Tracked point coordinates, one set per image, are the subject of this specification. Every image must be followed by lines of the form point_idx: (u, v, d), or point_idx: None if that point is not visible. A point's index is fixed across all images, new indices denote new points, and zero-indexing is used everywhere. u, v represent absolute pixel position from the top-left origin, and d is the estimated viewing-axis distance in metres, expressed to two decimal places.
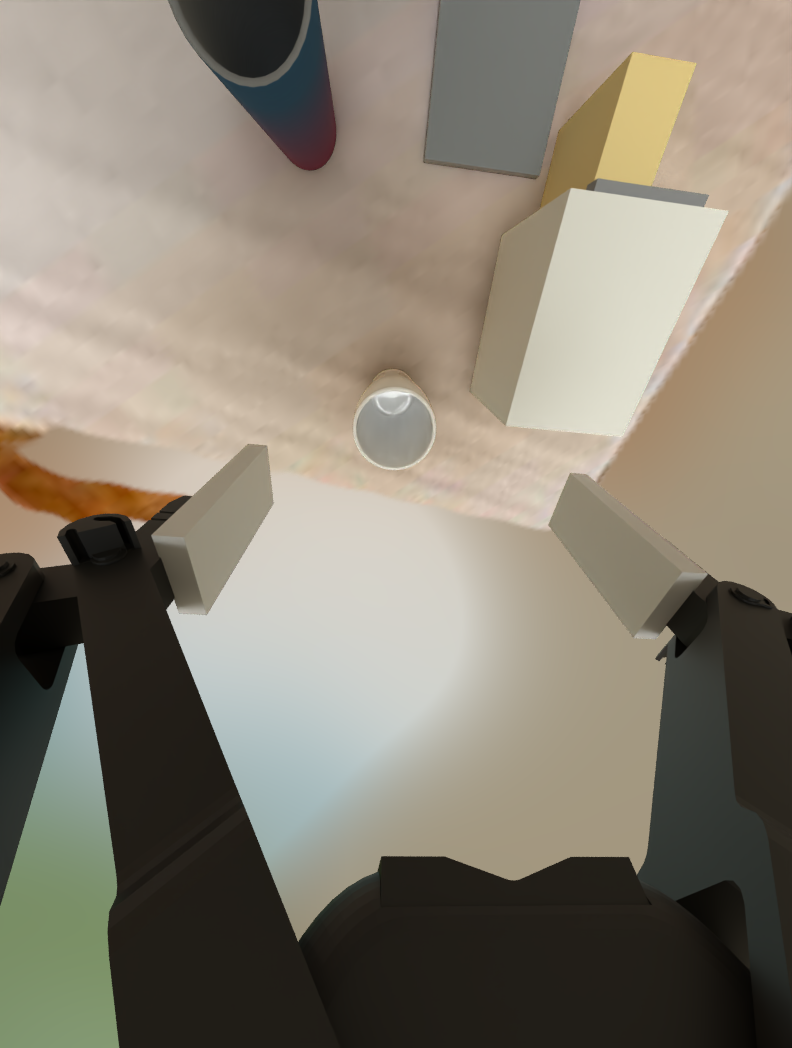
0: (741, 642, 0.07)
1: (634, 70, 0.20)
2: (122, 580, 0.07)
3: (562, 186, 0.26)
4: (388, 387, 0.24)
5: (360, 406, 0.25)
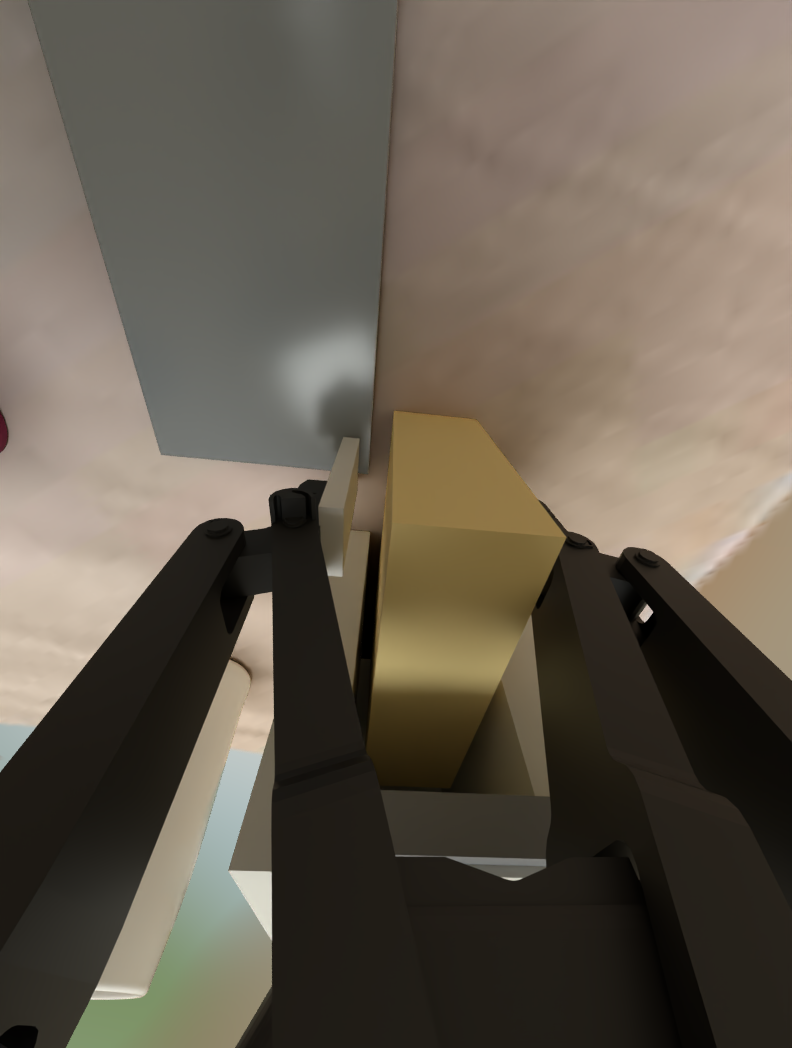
0: (580, 587, 0.08)
1: (408, 547, 0.08)
2: (301, 543, 0.08)
3: (383, 539, 0.14)
4: None
5: None
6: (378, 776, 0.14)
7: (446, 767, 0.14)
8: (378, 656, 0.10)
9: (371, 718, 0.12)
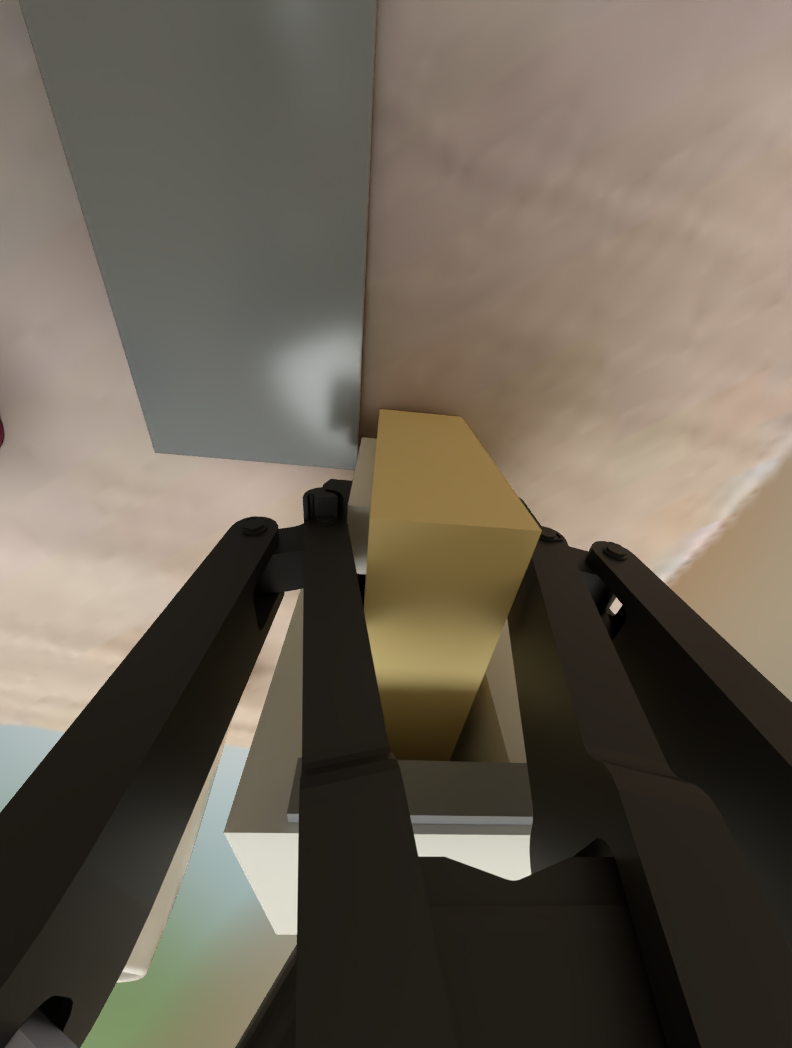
0: (552, 581, 0.08)
1: (386, 542, 0.08)
2: (331, 540, 0.09)
3: None
4: None
5: None
6: None
7: None
8: None
9: None
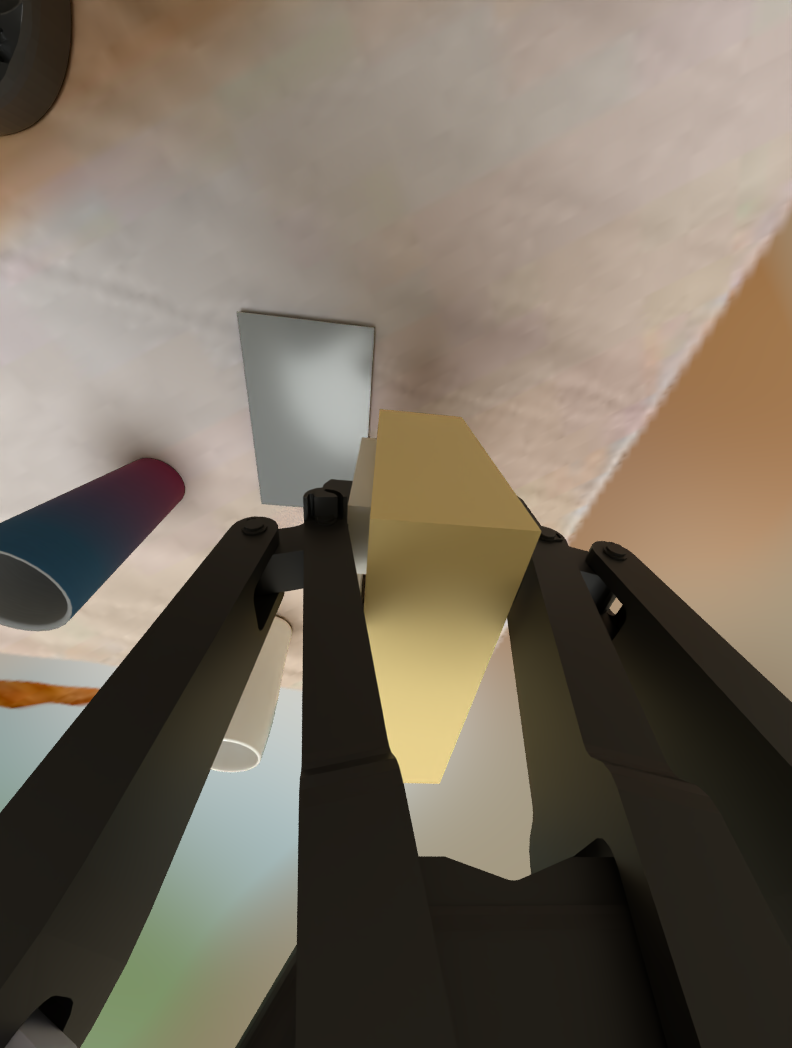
0: (552, 581, 0.08)
1: (386, 543, 0.08)
2: (331, 541, 0.09)
3: None
4: None
5: None
6: None
7: (434, 762, 0.14)
8: None
9: None
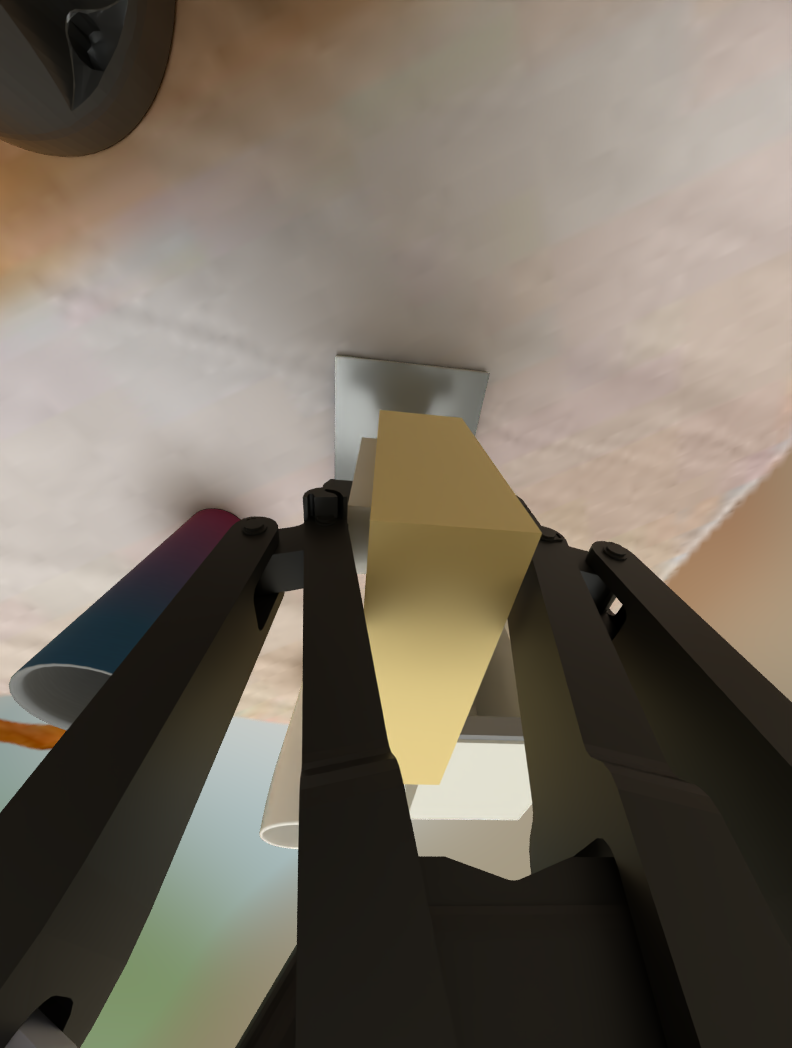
0: (552, 581, 0.08)
1: (386, 544, 0.08)
2: (331, 540, 0.09)
3: None
4: (288, 821, 0.26)
5: (264, 829, 0.27)
6: None
7: (434, 764, 0.14)
8: None
9: None
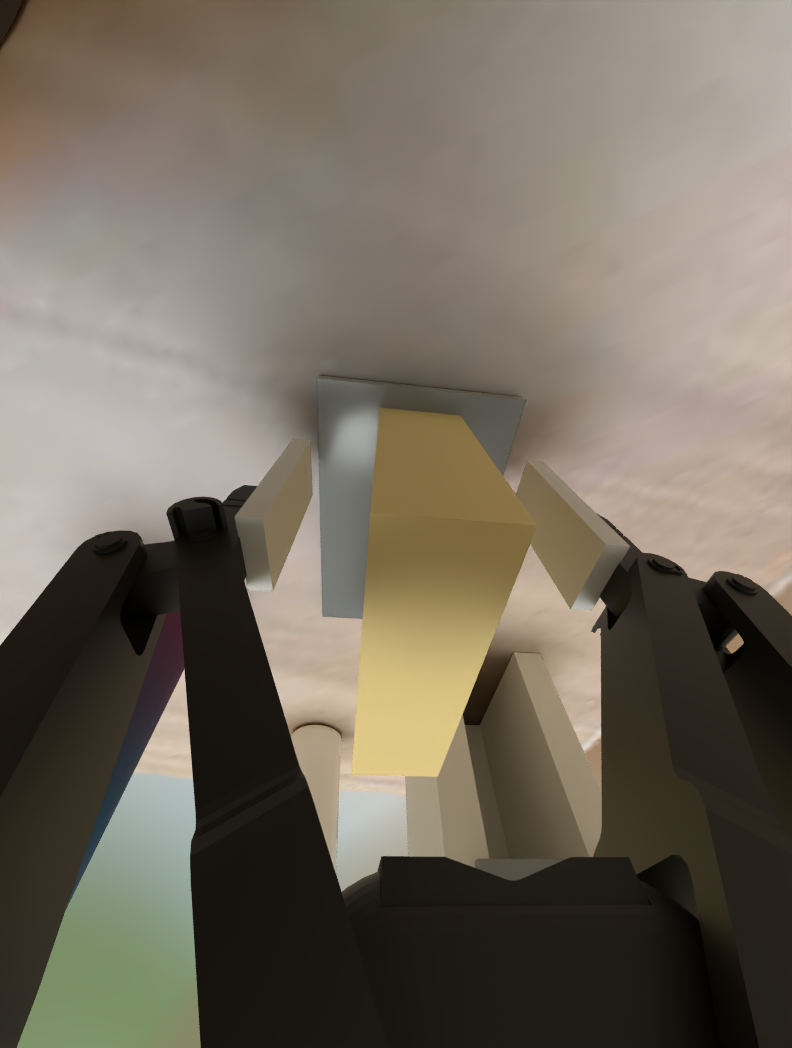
0: (662, 610, 0.08)
1: (386, 536, 0.08)
2: (212, 556, 0.08)
3: None
4: None
5: None
6: (367, 766, 0.15)
7: (433, 755, 0.14)
8: (362, 645, 0.10)
9: (357, 707, 0.12)
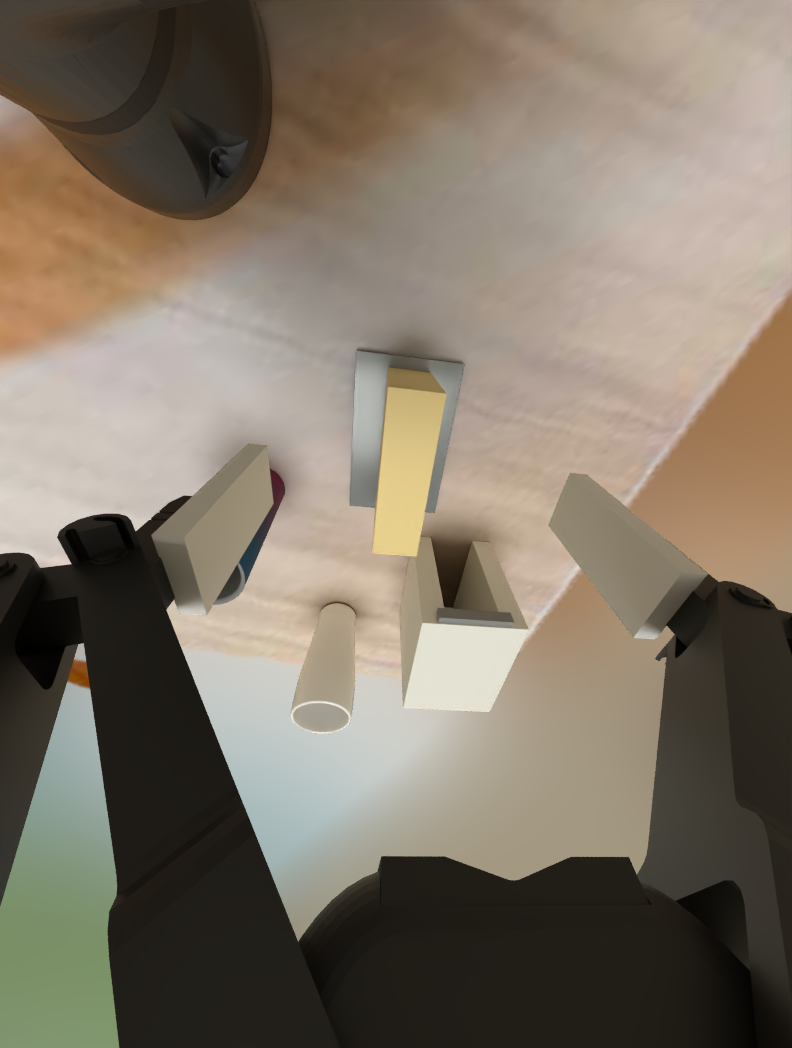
0: (741, 642, 0.07)
1: (393, 397, 0.23)
2: (122, 580, 0.07)
3: None
4: (313, 700, 0.35)
5: (294, 708, 0.35)
6: (380, 545, 0.29)
7: (413, 537, 0.29)
8: (382, 454, 0.25)
9: (378, 496, 0.27)
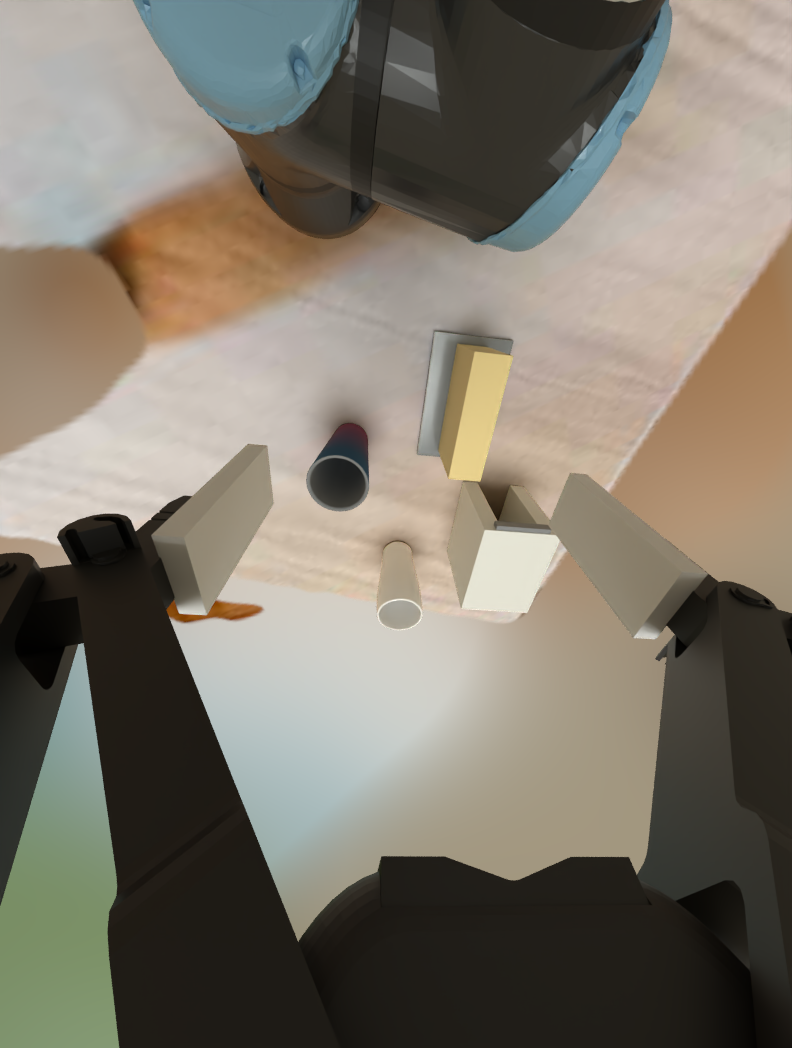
0: (741, 642, 0.07)
1: (477, 359, 0.34)
2: (122, 580, 0.07)
3: (456, 387, 0.40)
4: (396, 598, 0.46)
5: (381, 605, 0.46)
6: (455, 472, 0.40)
7: (479, 465, 0.40)
8: (464, 400, 0.36)
9: (458, 433, 0.38)
